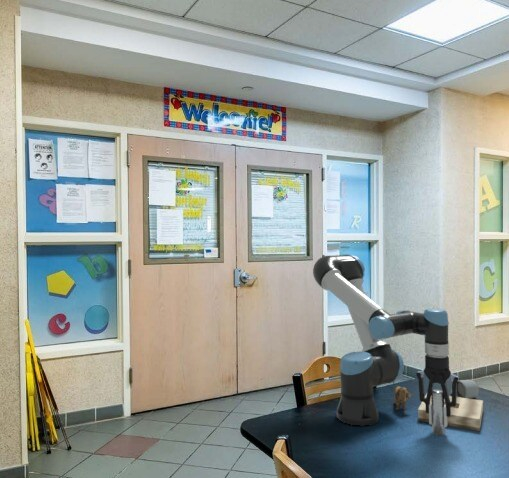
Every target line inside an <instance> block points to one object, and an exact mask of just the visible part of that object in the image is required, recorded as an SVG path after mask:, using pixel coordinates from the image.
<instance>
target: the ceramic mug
mask: <svg viewBox="0 0 509 478" xmlns="http://www.w3.org/2000/svg"><path fill="white" fill-rule="evenodd" d="M479 394H480V388H479V384H477V382H476V381H474V380H473V379H460V380H459V379H458V381H457V397H461V398H468V399H475V398H476V397H478V395H479ZM450 395H452V389H450Z"/></svg>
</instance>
